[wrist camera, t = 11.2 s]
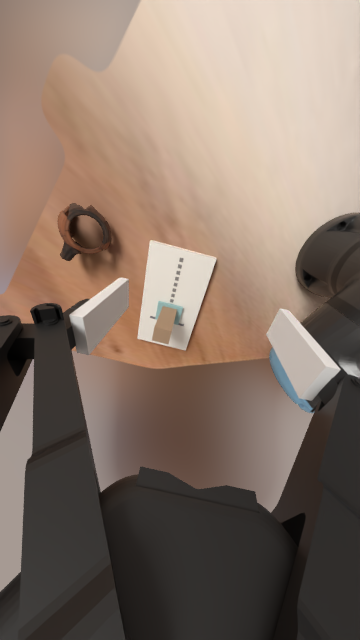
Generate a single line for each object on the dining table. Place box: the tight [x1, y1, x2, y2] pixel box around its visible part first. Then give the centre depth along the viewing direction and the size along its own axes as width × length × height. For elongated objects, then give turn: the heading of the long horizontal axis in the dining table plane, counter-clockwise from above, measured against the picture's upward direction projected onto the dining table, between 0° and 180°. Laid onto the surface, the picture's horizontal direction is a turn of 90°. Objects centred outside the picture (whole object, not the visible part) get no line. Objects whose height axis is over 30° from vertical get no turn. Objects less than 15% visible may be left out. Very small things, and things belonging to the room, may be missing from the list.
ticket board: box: [137, 240, 216, 351], centre depth 43 cm, size 14×26×2 cm, turn 167°
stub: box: [152, 301, 183, 344], centre depth 39 cm, size 6×5×10 cm
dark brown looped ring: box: [58, 203, 111, 261], centre depth 35 cm, size 12×10×8 cm
